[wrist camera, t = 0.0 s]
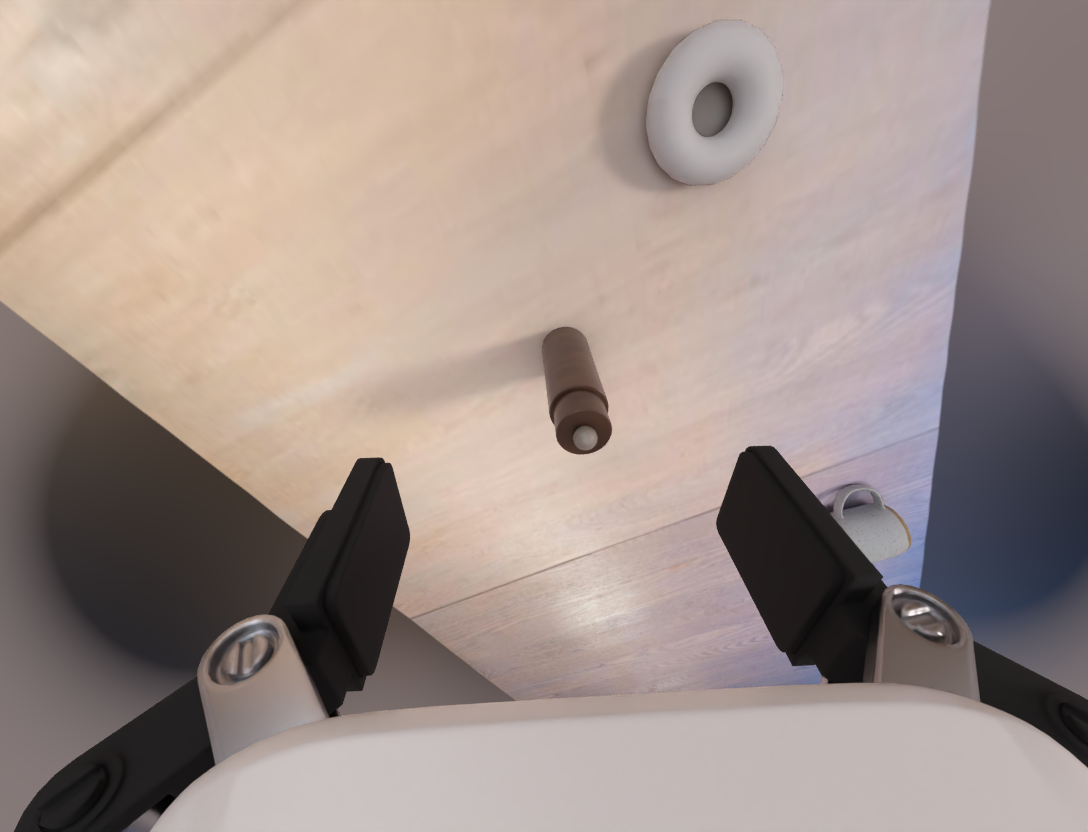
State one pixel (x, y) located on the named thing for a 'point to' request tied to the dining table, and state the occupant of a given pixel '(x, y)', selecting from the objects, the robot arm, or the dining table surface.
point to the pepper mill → (575, 392)
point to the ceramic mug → (872, 525)
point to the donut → (694, 63)
